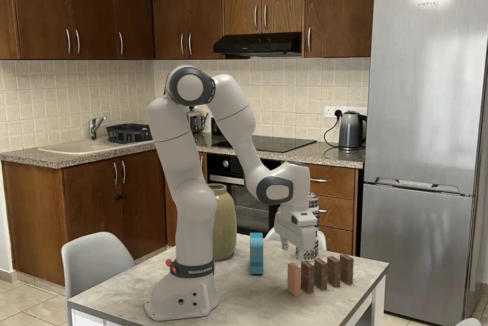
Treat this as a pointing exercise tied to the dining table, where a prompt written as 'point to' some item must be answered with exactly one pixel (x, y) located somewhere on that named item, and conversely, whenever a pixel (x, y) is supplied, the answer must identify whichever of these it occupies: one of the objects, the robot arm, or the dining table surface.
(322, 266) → the domino
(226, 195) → the vase
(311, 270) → the domino
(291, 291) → the domino
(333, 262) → the domino
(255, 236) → the data package
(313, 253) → the decorative candle
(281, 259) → the dining table surface
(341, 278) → the domino
